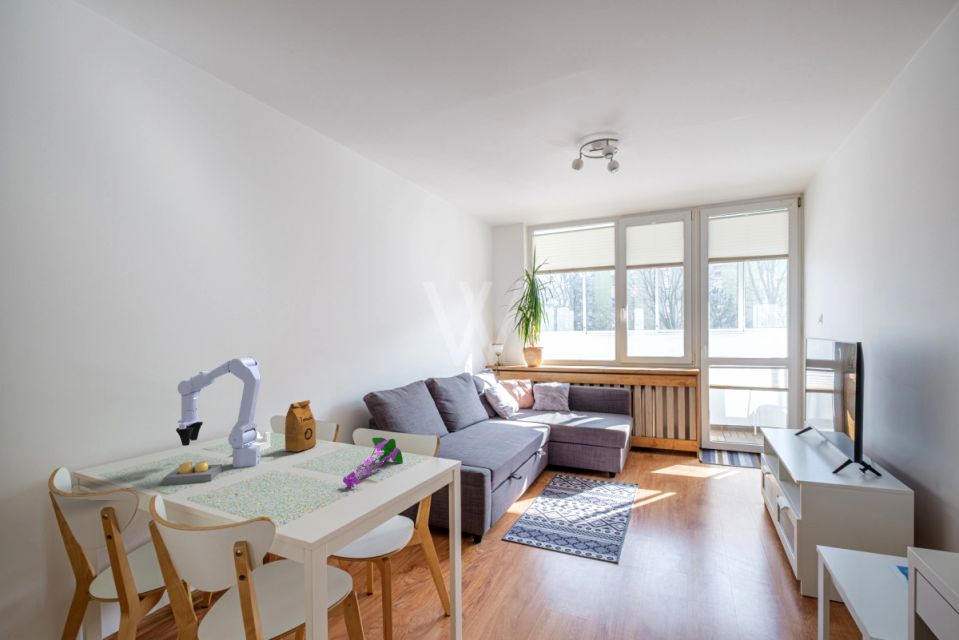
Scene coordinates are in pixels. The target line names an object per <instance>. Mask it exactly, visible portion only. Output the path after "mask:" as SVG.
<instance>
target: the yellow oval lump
mask: <svg viewBox="0 0 959 640" xmlns="http://www.w3.org/2000/svg"><path fill="white" fill-rule="evenodd" d="M192 466H193V462H189V461H188V462H183V463H180V464H179V465H178V467H179V474H187V473H192Z"/></svg>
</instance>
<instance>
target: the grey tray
mask: <svg viewBox="0 0 959 640" xmlns="http://www.w3.org/2000/svg"><path fill="white" fill-rule="evenodd" d="M222 472H223V464H221V463H220V464H208V471H206V472H200V473H195V465H192V473H187V474H179V466H178V467H176V468H175V469H173V470H172V471H171V472H168V473H167V474H166V475H165V476H164V477H162V478H163V480H162V483H163V484H162V485H163V486H167V485H168V486H169V485H177V484H178V485H180V484H191V483H204V482H212V481H213V480H214V479H215V478H217V476H218V475H220V474H221V473H222Z"/></svg>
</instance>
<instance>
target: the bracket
mask: <svg viewBox="0 0 959 640" xmlns="http://www.w3.org/2000/svg"><path fill="white" fill-rule="evenodd" d="M256 431H257V437H256V439H255V440H254V443H253V444H254V445H259V446H260V451H261V452H263V451H265V450H264V449H266V450H268V449H270V448H271V431H266V432H265V433H264V436H261V435H260V432H259V431H258V430H256ZM269 447H270V448H269ZM267 448H268V449H267ZM262 450H263V451H262Z"/></svg>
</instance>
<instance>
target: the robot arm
mask: <svg viewBox="0 0 959 640" xmlns="http://www.w3.org/2000/svg"><path fill="white" fill-rule="evenodd" d="M259 366H260V362H259V361H257V359H256V358H255V357H253V356H247V357H240V358H233V359H231V360H227V361H226V362H225V363H222V364H221V365H219V366H218V367H216V368H214V369H212V370H210V371H209V370H201V371H199V373H198V374H197V375H194V376H190V377H189V379H186V380H185V379H183V380H181V381H180V382H179V383H178V385H177V391H178V393H179V394H180V395H181V396H180V398H181V400H180V401H181V408H180V409H181V411H180V412H181V414H180V415H181V419H180V420H178V421H177V423H179V424H178V427H177V428H176V429H175V432H176V433H177V435H178V436H179V438H180V442H181V445H182V447H186V446H189V445H190V443H191V442H193V441H197V440H198V437H199V434H200V430H201V428H202V425H204V422H203V421H201V418H200V417H201V416H199V396H200V392H201V390H202V389H205V388H207V387H209V386H211V385H212V384H214V382H215V380H216V379H217V378H219V377H221V376H223V375H226V374H228V373H231V374H232V375H233V376H235V377H236V378H238V379H240V380H241V381H242V383H244V384H243V388H242V389H243V390H242V396H241V400H240V408H239V413H238V417H237V418H238V419H237V421H236V423H235V424H234V425H233V427H232V430H231V433H230V434H229V435H228V439H227V440H228V443H229V445H230V447H231V449H232V467H233V468H247V467H256V466H257V465H258V464H260V461H261V452H260V446H259V445H254V444H253V443H254V440H255V439H256V437H257V431H258V430H257V424H256V423H255V422H254V417H255V413H256V408H257V402H258V395H259V392H260V391H259V390H260V385H261V375H260V371H259Z"/></svg>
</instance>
